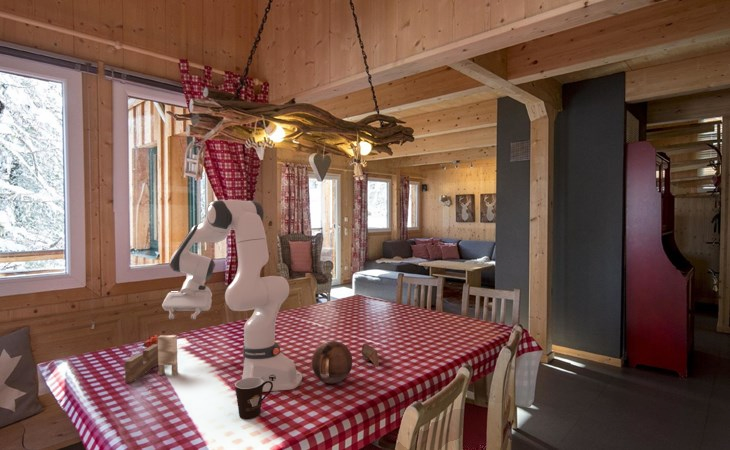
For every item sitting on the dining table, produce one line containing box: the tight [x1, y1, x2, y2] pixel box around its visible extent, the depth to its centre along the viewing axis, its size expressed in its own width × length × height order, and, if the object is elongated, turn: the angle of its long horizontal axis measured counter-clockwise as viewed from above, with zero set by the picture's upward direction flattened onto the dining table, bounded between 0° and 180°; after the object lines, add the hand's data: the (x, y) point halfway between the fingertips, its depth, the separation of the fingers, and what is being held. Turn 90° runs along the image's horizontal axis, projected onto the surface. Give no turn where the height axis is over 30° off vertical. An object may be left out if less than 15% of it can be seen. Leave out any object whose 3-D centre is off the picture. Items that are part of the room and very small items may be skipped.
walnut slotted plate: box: [124, 344, 158, 383], centre depth 162 cm, size 2×20×8 cm, turn 179°
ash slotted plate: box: [157, 334, 179, 376], centre depth 160 cm, size 6×2×15 cm, turn 89°
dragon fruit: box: [141, 332, 164, 349], centre depth 188 cm, size 8×8×12 cm
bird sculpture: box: [361, 343, 380, 368], centre depth 170 cm, size 7×25×5 cm, turn 15°
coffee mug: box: [234, 377, 273, 420], centre depth 127 cm, size 12×9×10 cm
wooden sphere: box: [311, 340, 353, 384], centre depth 151 cm, size 15×15×15 cm
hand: (181, 318), depth 172 cm, fingers open, 8 cm apart
